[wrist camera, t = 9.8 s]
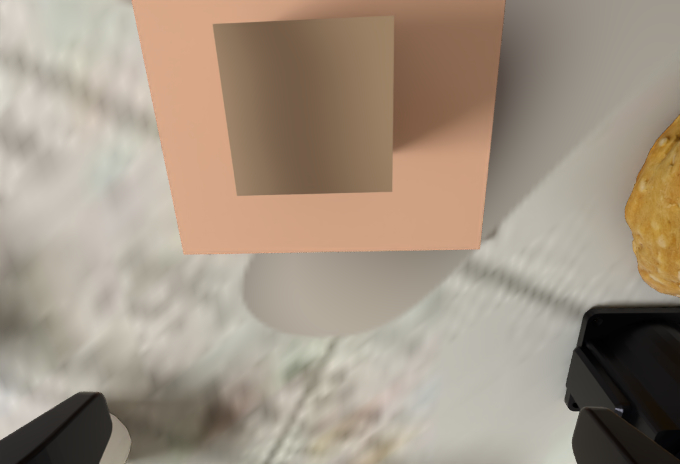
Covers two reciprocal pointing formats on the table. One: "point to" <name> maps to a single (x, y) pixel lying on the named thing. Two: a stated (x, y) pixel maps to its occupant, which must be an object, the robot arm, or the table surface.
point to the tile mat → (408, 129)
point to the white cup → (117, 444)
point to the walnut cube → (309, 104)
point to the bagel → (658, 214)
